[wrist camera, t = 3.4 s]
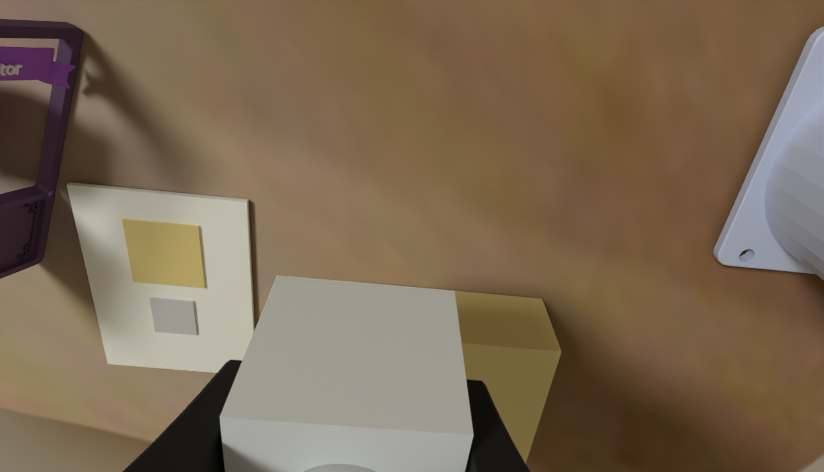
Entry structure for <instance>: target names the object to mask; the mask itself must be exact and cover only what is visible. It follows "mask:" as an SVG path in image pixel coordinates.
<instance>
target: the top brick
mask: <svg viewBox="0 0 824 472" xmlns="http://www.w3.org/2000/svg"><path fill="white" fill-rule="evenodd" d="M219 418H220V427H221V437H222V447H223V457H224V467H225V472H465V469H466V465H467V461H468V457H469V452H470V448H471V444H472V440H473V436H474V434H473V427H472V419H471V412H470V404H469V396H468V389H467V381H466V374H465V366H464V359H463V351H462V343H461V336H460V328H459V321H458V313H457V305H456V298H455V291H452V290H440V289H428V288H417V287H405V286H394V285H382V284H370V283H359V282H347V281H336V280H324V279H312V278H301V277H289V276H278V275H277V276H276V279H275V281H274V284H273V286H272V289H271V291H270V293H269V296H268V298H267V301H266V303H265V306H264V308H263V311H262V313H261V316H260V318H259V321H258V323H257V326H256V328H255V331H254V333H253V336H252V338H251V341H250V343H249V345H248V348H247V350H246V353H245V355H244V358H243V360H242V363H241V365H240V368H239V370H238V373H237V375H236V378H235V380H234V383H233V385H232V388H231V390H230V392H229V395H228V397H227V400H226V402H225V405H224V407H223V410H222V412H221V415H220V417H219Z"/></svg>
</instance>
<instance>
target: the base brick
mask: <svg viewBox="0 0 824 472" xmlns="http://www.w3.org/2000/svg"><path fill="white" fill-rule="evenodd" d="M359 283H364V282H359ZM370 284H375V283H370ZM382 285H386V284H382ZM394 286H397V285H394ZM405 287H408V286H405ZM417 288H419V287H417ZM428 289H430V288H428ZM440 290H441V289H440ZM455 298H456V305H457V313H458V321H459V328H460V336H461V343H462V351H463V359H464V366H465V374H466V379H469V380H481V381H483V382H484V383H485V385H486V386H487V389H488V391H489V394H490V396H491V398H492V400H493V402H494V405H495V407H496V409H497V411H498V413H499V415H500V417H501V419H502V421H503V423H504V425H505V427H506V429H507V431H508V433H509V435H510V437H511V439H512V441H513V442H514V444H515V446H516V448H517V450H518V452H519V453H520V455H521V457H522V459H523V460H524V462H525V464H526V461H527V458H528V455H529V452H530V449H531V446H532V443H533V439H534V436H535V433H536V430H537V427H538V424H539V421H540V418H541V414H542V411H543V408H544V405H545V402H546V399H547V396H548V393H549V389H550V386H551V383H552V380H553V377H554V374H555V371H556V368H557V364H558V361H559V358H560V355H561V352H562V351H561V349H560V346H559V343H558V341H557V338H556V335H555V332H554V330H553V327H552V324H551V322H550V319H549V316H548V313H547V311H546V308H545V305H544V303H543V300H542V299H540V298H529V297H518V296H507V295H496V294H485V293H474V292H463V291H455Z"/></svg>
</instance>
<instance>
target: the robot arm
mask: <svg viewBox="0 0 824 472" xmlns="http://www.w3.org/2000/svg"><path fill="white" fill-rule="evenodd" d="M747 249H748V251H747V252H746V254H744V255H742V256H739V255H740V254H741V252H743V251H744V250H747ZM713 253H714V257H715V258H716V259H717V260H718V261H719V262H720V263H721V264H723V265H726V266H736V267H747V268H757V269H768V270H778V271H789V272H799V273H810V274H816V275H818V276H819V277H820V278H821V279H823V280H824V26H823V27H821V28H819V29H817V30H816V31H815V32H814V33H813V34H812V35H811V36H810V38H809V39H808V41H807V42H806V45H805V47H804V49H803V51H802V54H801V56H800V58H799V60H798V63H797V65H796V67H795V69H794V71H793V74H792V76H791V78H790V80H789V83H788V85H787V87H786V89H785V92H784V94H783V96H782V98H781V100H780V103H779V105H778V107H777V109H776V112H775V114H774V116H773V118H772V121H771V123H770V125H769V127H768V129H767V132H766V134H765V136H764V138H763V141H762V143H761V145H760V147H759V150H758V152H757V154H756V156H755V158H754V161H753V163H752V165H751V167H750V170H749V172H748V174H747V176H746V179H745V181H744V183H743V185H742V187H741V190H740V192H739V194H738V196H737V199H736V201H735V203H734V205H733V208H732V210H731V212H730V214H729V216H728V219H727V221H726V223H725V225H724V228H723V230H722V232H721V234H720V237H719V239H718V241H717V243H716V245H715V248H714V252H713ZM241 363H242V360H229V361H228V362H226V363H225V364H224V365H223V367H222V368H221V369H220V370H219V371H218V373H217V374H216V375H215V376H214V377H213V378H212V379H211V381H210V382H209V383H208V384H207V385H206V386H205V388H204V389H203V390H202V391H201V392H200V393H199V394H198V395H197V397H196V398H195V399H194V400H193V401H192V402H191V403H190V404H189V405H188V406H187V408H186V409H185V410H184V411H183V412H182V413H181V414H180V415H179V416H178V417H177V418H176V419H175V420H174V421H173V422H172V423H171V424H170V425H169V426H168V428H167V429H166V430H165V431H164V432H163V433H162V434H161V435H160V436H159V437H158V438H157V439H156V440H155V441H154V442H153V443H152V444H151V445H150V446H149V447H148V448H147V449H146V450H145V451H144V452H143V453H142V454H141V455H140V456H139V457H138V458H136V459H135V461H133V462H132V463H131V464H130V465H129V466H128V467H127V468H126V469H125V470H124V471H123V472H225V467H224V457H223V447H222V437H221V427H220V418H219V417H220V415H221V412H222V410H223V407H224V405H225V402H226V400H227V397H228V395H229V392H230V390H231V388H232V385H233V383H234V380H235V378H236V375H237V373H238V370H239V368H240V365H241ZM466 381H467V389H468V396H469V404H470V412H471V419H472V427H473V434H474V436H473V440H472V444H471V448H470V452H469V457H468V461H467V465H466V469H465V472H530V471H529V469H528V467H527V466H526V464H525V462H524V460H523V459H522V457H521V455H520V453H519V452H518V450H517V448H516V446H515V444H514V442H513V441H512V439H511V437H510V435H509V433H508V431H507V429H506V427H505V425H504V423H503V421H502V419H501V417H500V415H499V413H498V411H497V409H496V407H495V405H494V402H493V400H492V398H491V396H490V394H489V391H488V389H487V386H486V385H485V383H484V382H483V381H481V380H469V379H466Z"/></svg>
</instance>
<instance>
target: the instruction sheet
mask: <svg viewBox="0 0 824 472" xmlns="http://www.w3.org/2000/svg"><path fill="white" fill-rule="evenodd" d="M67 189H68V193H69V198H70V202H71V206H72V211H73V215H74V219H75V224H76V228H77V232H78V237H79V241H80V245H81V250H82V254H83V258H84V263H85V267H86V271H87V275H88V280H89V284H90V288H91V293H92V297H93V301H94V306H95V310H96V314H97V319H98V323H99V327H100V332H101V336H102V340H103V345H104V349H105V353H106V358H107V362H108V364H115V365H128V366H140V367H153V368H165V369H177V370H190V371H202V372H214V373H218V371H219V370H220V369H221V368H222V367H223V365H224V364H225V363H226V362H228V361H229V360H243V358H244V355H245V353H246V350H247V348H248V345H249V343H250V341H251V338H252V336H253V333H254V331H255V322H254V301H253V281H252V261H251V240H250V220H249V200H248V199H237V198H227V197H217V196H206V195H196V194H186V193H176V192H165V191H155V190H145V189H134V188H124V187H114V186H104V185H93V184H83V183H73V182H70V183H68V184H67Z"/></svg>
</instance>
